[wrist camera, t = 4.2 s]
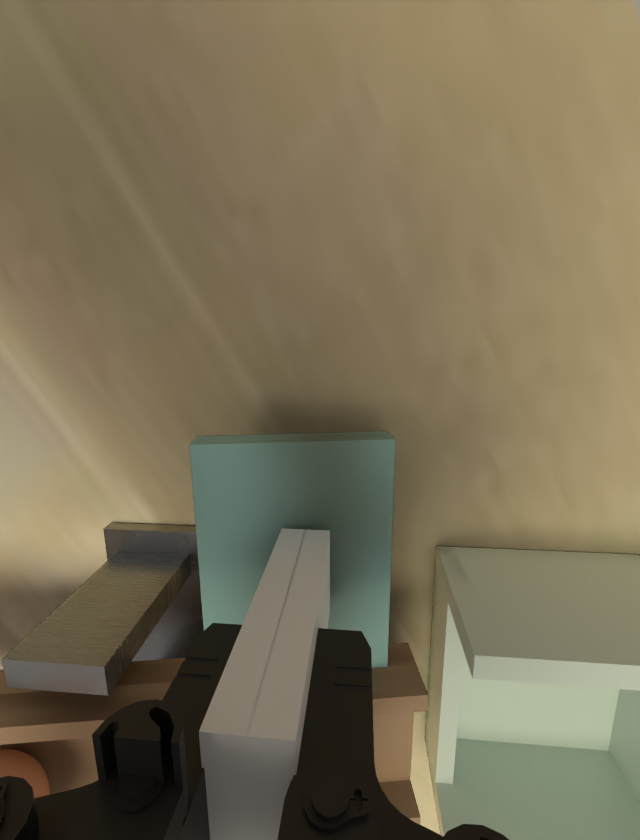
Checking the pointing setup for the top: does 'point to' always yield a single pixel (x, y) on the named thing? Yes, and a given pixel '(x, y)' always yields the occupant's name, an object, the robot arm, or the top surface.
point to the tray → (535, 693)
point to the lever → (238, 581)
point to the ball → (24, 770)
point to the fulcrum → (117, 614)
